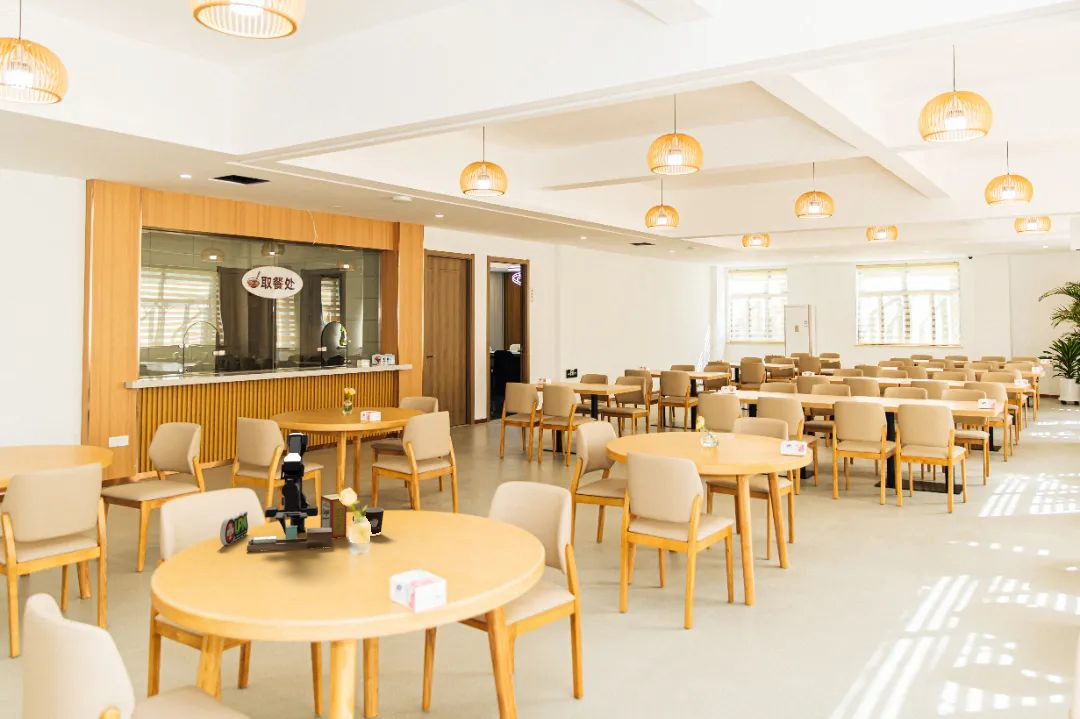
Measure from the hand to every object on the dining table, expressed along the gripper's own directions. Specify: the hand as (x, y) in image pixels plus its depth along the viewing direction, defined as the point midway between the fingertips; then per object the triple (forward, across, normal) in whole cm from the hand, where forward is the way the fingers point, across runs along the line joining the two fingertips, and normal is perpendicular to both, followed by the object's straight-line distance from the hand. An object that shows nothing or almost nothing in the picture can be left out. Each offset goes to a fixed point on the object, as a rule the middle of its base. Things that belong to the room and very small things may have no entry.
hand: (291, 534), depth 293 cm
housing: (+5, 0, 0) cm, 5 cm away
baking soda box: (+5, -15, -16) cm, 22 cm away
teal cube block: (+1, 0, 0) cm, 1 cm away
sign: (+5, +22, -14) cm, 27 cm away
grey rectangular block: (+5, +10, +1) cm, 11 cm away
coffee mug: (+5, -29, -16) cm, 33 cm away
